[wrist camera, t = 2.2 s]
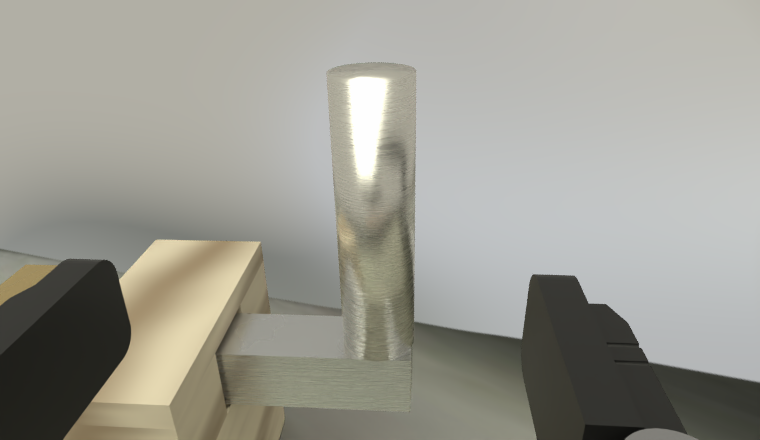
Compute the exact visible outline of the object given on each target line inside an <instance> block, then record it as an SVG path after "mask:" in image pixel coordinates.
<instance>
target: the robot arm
mask: <svg viewBox="0 0 760 440" xmlns="http://www.w3.org/2000/svg"><path fill="white" fill-rule="evenodd" d="M130 341H131V325H130V320H129V317H128V313H127V309H126V305H125V301H124V297H123V294H122V290H121V286H120V282H119V278H118V274H117V271H116V268H115V267H114V265H113V264H112V263H111V262H110V261H108V260H90V259H67V260H64V261H63V262H61V263H60V264H59V265H58V266H57V267H55V268H54V269H53V270H52V271H51V272H50V273H48V274H47V275H46V276H45V277H44V278H43V279H41V280H40V281H39V282H38V283H37V284H36V285H34V286H32V287H30V288H28V289H26V290H24V291H22V292H20V293H18V294H16V295H14V296H13V297H11V298H9V299H8V300H7V301H5V302H4V303H3V304H2V305H1V306H0V440H63V439H64V438H65V436H66V435H67V434H68V432H69V431H70V430H71V428H72V427H73V426H74V424H75V423H76V422H77V420H78V419H79V417H80V416H81V415H82V413H83V412H84V411H85V409H86V408H87V407H88V405H89V404H90V403H91V401H92V400H93V399H94V397H95V396H96V395H97V393H98V392H99V391H100V389H101V388H102V387H103V385H104V384H105V383H106V381H107V380H108V379H109V377H110V376H111V375H112V373H113V372H114V371H115V369H116V368H117V367H118V365H119V364H120V363H121V361H122V360H123V359H124V357H125V355H126V353H127V351H128V349H129V345H130ZM521 361H522V372H523V378H524V383H525V387H526V392H527V396H528V401H529V405H530V410H531V414H532V419H533V423H534V427H535V432H536V436H537V440H698V439H696V438H694V437H691V436H689V435H688V434H687V432H686V431H685V429H684V427H683V425H682V423H681V421H680V419H679V417H678V416H677V414H676V412H675V410H674V408H673V406H672V404H671V403H670V401H669V399H668V397H667V395H666V393H665V391H664V390H663V388H662V386H661V384H660V382H659V380H658V378H657V376H656V375H655V373H654V371H653V369H652V367H651V366H649V365H648V360H647V358H646V356H645V354H644V352H643V350H642V349H641V348H639V343H638V341H637V339H636V338H635V336H634V334H633V332H632V330H631V328H630V326H629V324H628V323H627V322H626V321H625V320H624V319H623V318H621V317H620V316H619V315H618V314H617V313H615V312H614V311H613V310H612V309H611V308H610V307H609V306H607V305H606V304H588V301H587V299H586V297H585V295H584V293H583V290H582V288H581V286H580V284H579V282H578V280H577V278H576V277H575V276H565V275H532V277H531V280H530V284H529V291H528V299H527V307H526V314H525V322H524V330H523V337H522V348H521Z"/></svg>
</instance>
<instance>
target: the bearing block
mask: <svg viewBox="0 0 760 440" xmlns="http://www.w3.org/2000/svg"><path fill="white" fill-rule="evenodd" d="M119 282H120V286H121V290H122V294H123V297H124V301H125V305H126V309H127V313H128V317H129V320H130V325H131V341H130V345H129V349H128V351H127V353H126V355H125V357H124V359H123V360H122V361H121V363H120V364H119V365H118V367H117V368H116V369H115V371H114V372H113V373H112V375H111V376H110V377H109V379H108V380H107V381H106V383H105V384H104V385H103V387H102V388H101V389H100V391H99V392H98V393H97V395H96V396H95V397H94V399H93V400H92V401H91V403H90V404H89V405H88V407H87V408H86V409H85V411H84V412H83V413H82V415H81V416H80V417H79V419H78V420H77V422H76V423H75V424H74V426H73V427H72V428H71V430H70V431H69V432H68V434H67V435H66V436H65V438H64V439H63V440H279V438H280V435H281V431H282V428H283V425H284V421H285V415H284V408H283V406H260V405H238V404H225V399H224V394H223V389H222V384H221V379H220V374H219V370H218V365H217V360H216V355H215V353H216V351H217V349H218V347H219V345H220V343H221V341H222V339H223V337H224V335H225V333H226V331H227V330H228V328H229V326H230V324H231V322H232V320H233V318H234V316H235V314H236V313H251V314H271V313H270V306H269V298H268V291H267V284H266V277H265V269H264V262H263V255H262V247H261V242H241V241H195V240H155V241H154V243H153V244H152V245H151V246H150V247H149V248H148V249H147V250H146V251H145V253H144V254H143V255H142V256H141V257H140V258H139V259H138V260H137V261H136V262H135V263H134V264H133V265H132V267H131V268H130V269H129V270H128V271H127V272H126V273H125V274H124V275H123V276H122V278H121V279H120V280H119Z"/></svg>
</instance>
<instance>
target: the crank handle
mask: <svg viewBox="0 0 760 440" xmlns="http://www.w3.org/2000/svg"><path fill="white" fill-rule="evenodd" d="M327 87H328V102H329V119H330V134H331V149H332V163H333V180H334V196H335V211H336V227H337V240H338V241H337V242H338V258H339V273H340V288H341V304H342V316H315V315H283V314H251V313H236V314H235V316H234V318H233V320H232V322H231V324H230V326H229V328H228V330H227V331H226V333H225V335H224V337H223V339H222V341H221V343H220V345H219V347H218V349H217V351H216V353H215V355H216V360H217V365H218V370H219V374H220V379H221V384H222V389H223V394H224V399H225V404H238V405H260V406H283V407H305V408H327V409H349V410H372V411H394V412H410V410H411V384H412V344H413V341H414V261H415V259H414V258H415V253H414V252H415V143H416V140H415V139H416V135H415V134H416V130H415V129H416V70H415V68H413V67H410V66H407V65H403V64H396V63H356V64H348V65H343V66H338V67H335V68H332V69H330V70H328V71H327Z"/></svg>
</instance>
